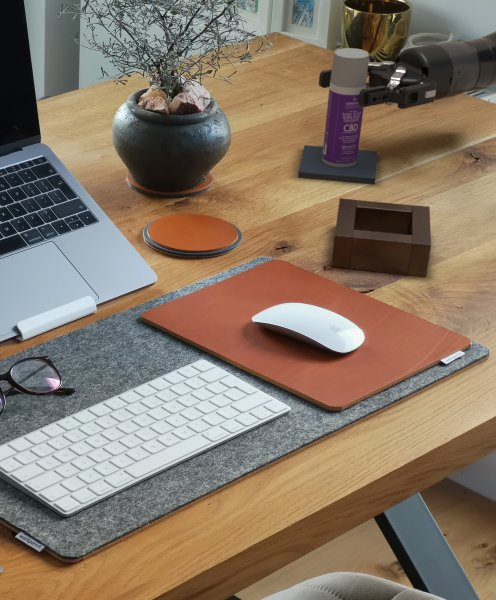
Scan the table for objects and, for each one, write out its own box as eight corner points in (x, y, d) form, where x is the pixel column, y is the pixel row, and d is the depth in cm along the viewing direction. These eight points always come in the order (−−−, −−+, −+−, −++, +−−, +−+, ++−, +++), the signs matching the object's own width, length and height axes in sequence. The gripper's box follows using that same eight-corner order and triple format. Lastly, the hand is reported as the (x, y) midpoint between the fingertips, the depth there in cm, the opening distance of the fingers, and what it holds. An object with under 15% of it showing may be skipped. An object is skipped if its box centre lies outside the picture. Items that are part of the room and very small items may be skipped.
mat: (376, 156, 155) (377, 151, 154) (374, 184, 146) (375, 178, 146) (303, 150, 157) (304, 145, 157) (298, 177, 148) (298, 171, 148)
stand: (424, 237, 133) (429, 206, 131) (425, 277, 124) (431, 244, 122) (336, 228, 135) (339, 198, 133) (331, 266, 126) (334, 235, 124)
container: (342, 170, 148) (355, 60, 141) (314, 160, 152) (325, 52, 144) (363, 161, 151) (377, 53, 144) (336, 152, 154) (348, 45, 147)
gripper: (405, 31, 156) (310, 46, 150) (477, 59, 145) (378, 76, 138) (398, 83, 160) (305, 100, 153) (468, 113, 148) (371, 133, 142)
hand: (340, 89), depth 146 cm, fingers open, 8 cm apart
